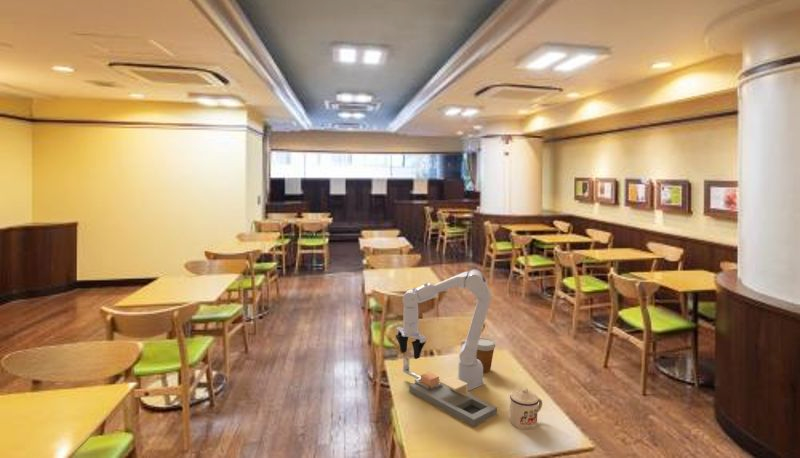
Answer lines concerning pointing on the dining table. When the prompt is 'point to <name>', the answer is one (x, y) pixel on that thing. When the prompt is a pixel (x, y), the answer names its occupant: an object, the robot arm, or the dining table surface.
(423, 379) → the terracotta block
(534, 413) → the teacup with lid
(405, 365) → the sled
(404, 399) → the dining table surface
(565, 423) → the dining table surface
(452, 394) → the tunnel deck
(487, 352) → the disposable coffee cup
